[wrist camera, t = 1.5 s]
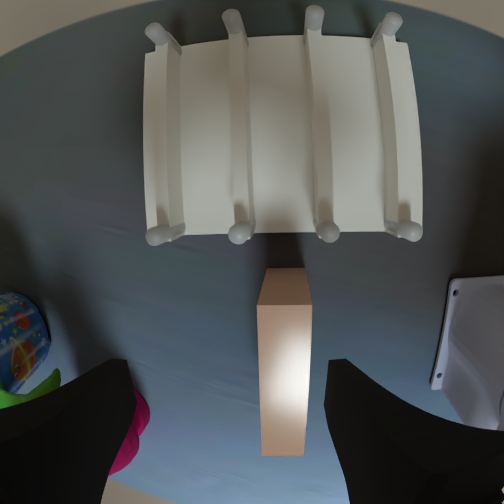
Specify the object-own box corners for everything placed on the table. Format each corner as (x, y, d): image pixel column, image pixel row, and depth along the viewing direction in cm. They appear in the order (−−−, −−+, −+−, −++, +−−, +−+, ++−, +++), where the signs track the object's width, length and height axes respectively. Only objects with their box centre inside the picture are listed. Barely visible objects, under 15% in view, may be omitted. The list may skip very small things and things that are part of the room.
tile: (301, 392, 23) (303, 455, 16) (269, 392, 23) (261, 455, 16) (304, 267, 21) (312, 305, 14) (266, 268, 21) (256, 305, 14)
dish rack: (416, 229, 19) (449, 241, 15) (153, 234, 22) (118, 246, 17) (402, 48, 17) (427, 18, 12) (151, 58, 19) (119, 31, 14)
